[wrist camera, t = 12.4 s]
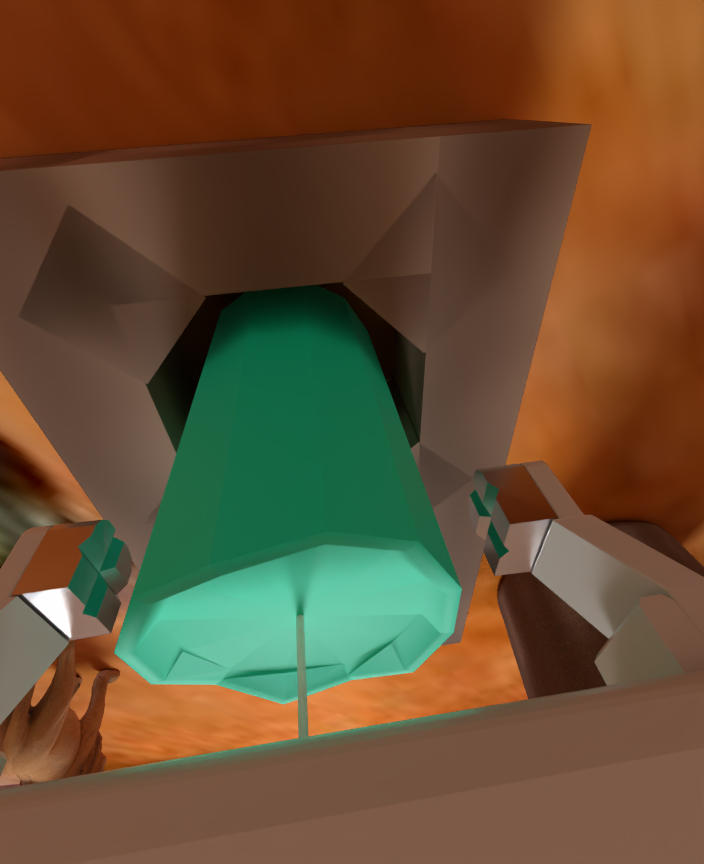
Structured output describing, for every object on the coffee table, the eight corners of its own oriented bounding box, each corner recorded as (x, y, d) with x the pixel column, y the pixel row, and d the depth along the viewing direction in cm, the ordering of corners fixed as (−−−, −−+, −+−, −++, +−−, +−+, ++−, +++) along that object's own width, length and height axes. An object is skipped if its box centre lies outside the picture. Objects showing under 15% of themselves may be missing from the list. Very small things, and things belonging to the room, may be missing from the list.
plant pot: (469, 647, 34) (575, 958, 22) (454, 537, 24) (637, 1007, 11) (664, 600, 33) (891, 897, 21) (734, 465, 23) (1264, 891, 11)
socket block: (509, 119, 11) (591, 124, 8) (440, 580, 27) (460, 642, 24) (-10, 158, 11) (-131, 181, 8) (224, 612, 26) (216, 681, 23)
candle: (174, 315, 14) (-55, 752, 4) (341, 250, 13) (475, 600, 4) (256, 439, 18) (223, 816, 8) (388, 393, 17) (514, 745, 8)
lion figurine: (156, 690, 32) (120, 854, 25) (84, 700, 31) (27, 870, 24) (73, 591, 23) (-22, 807, 16) (-31, 603, 22) (-176, 832, 15)
